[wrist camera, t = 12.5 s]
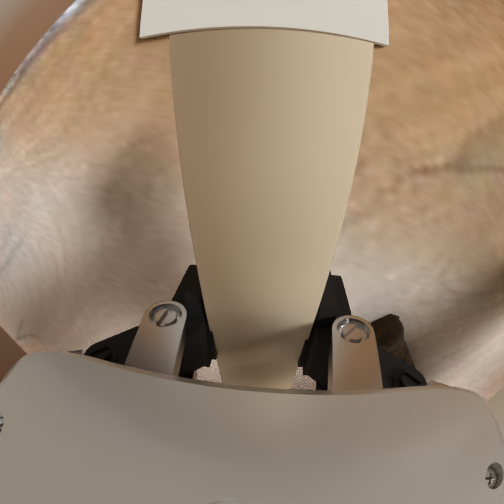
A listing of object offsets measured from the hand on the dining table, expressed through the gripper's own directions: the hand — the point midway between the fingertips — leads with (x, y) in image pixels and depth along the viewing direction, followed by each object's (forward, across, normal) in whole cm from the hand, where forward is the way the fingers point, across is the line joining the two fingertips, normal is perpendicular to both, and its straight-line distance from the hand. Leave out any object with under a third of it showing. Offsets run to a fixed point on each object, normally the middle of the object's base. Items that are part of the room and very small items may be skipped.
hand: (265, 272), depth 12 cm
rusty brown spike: (+10, -17, +17) cm, 26 cm away
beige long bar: (+1, 0, 0) cm, 2 cm away
